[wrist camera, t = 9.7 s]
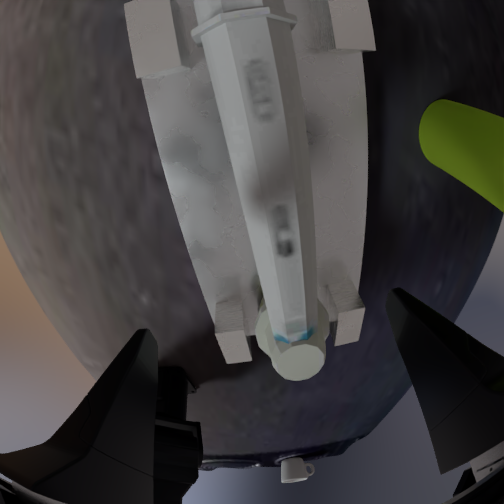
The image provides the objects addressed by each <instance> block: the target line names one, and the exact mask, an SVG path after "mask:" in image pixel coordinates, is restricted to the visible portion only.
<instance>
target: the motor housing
mask: <svg viewBox="0 0 504 504" xmlns="http://www.w3.org/2000/svg"><path fill="white" fill-rule="evenodd" d="M283 1H284V5H285V8H286V12H287V13H290V14H293V15H296V17H297V21H298V22H297V24H296V25H295V27H294V28H293V30H292V31H291V34H292V39H293V44H294V50H295V55H296V61H297V67H298V73H299V80H300V86H301V93H302V100H303V107H304V115H305V123H306V131H307V140H308V149H309V159H310V169H311V180H312V192H313V206H314V221H315V239H316V262H317V298H318V299H319V301H320V302H321V303H322V305H323V306H324V307H325V309H326V310H327V312H328V315H329V330H330V333H331V336H332V339H333V342H334V345H335V346H338V345H342V344H347V343H351V342H355V341H358V339H359V335H360V330H361V326H362V321H363V316H364V311H365V306H364V304H363V302H362V300H361V298H360V296H359V294H358V289H359V282H360V274H361V266H362V257H363V247H364V236H365V223H366V207H367V184H368V128H367V105H366V90H365V78H364V68H363V59H362V52H370V51H376V48H375V40H374V33H373V27H372V21H371V15H370V10H369V5H368V0H283ZM124 9H125V16H126V22H127V29H128V35H129V41H130V46H131V52H132V57H133V62H134V67H135V72H136V77H137V78H141V79H142V83H143V88H144V93H145V97H146V102H147V106H148V110H149V115H150V119H151V123H152V127H153V131H154V135H155V139H156V143H157V147H158V151H159V154H160V158H161V162H162V166H163V169H164V173H165V176H166V180H167V183H168V187H169V190H170V194H171V197H172V201H173V204H174V207H175V211H176V214H177V217H178V220H179V224H180V227H181V230H182V233H183V236H184V239H185V243H186V246H187V249H188V252H189V255H190V258H191V261H192V264H193V267H194V270H195V272H196V275H197V278H198V281H199V284H200V287H201V290H202V292H203V295H204V298H205V301H206V303H207V306H208V309H209V312H210V314H211V317H212V320H213V322H214V325H215V336H216V338H217V341H218V343H219V345H220V348H221V350H222V353H223V355H224V358H225V360H226V362H227V364H231V363H239V362H247V361H252V352H251V341H250V335H256V334H255V328H254V324H255V321H256V318H257V316H258V307H259V306H260V303H261V301H262V298H263V291H262V287H261V283H260V278H259V274H258V270H257V266H256V262H255V258H254V254H253V250H252V245H251V241H250V237H249V233H248V229H247V225H246V221H245V217H244V213H243V208H242V204H241V200H240V196H239V192H238V188H237V184H236V180H235V176H234V171H233V167H232V163H231V159H230V155H229V151H228V147H227V143H226V139H225V135H224V130H223V126H222V122H221V118H220V114H219V110H218V106H217V102H216V98H215V94H214V89H213V85H212V81H211V77H210V73H209V69H208V65H207V61H206V57H205V53H204V49H203V47H198V46H197V45H196V43H195V41H194V40H193V38H192V35H191V30H193V29H194V28H196V27H198V22H197V17H196V12H195V7H194V2H193V0H133V1H131V2H128V3H125V4H124Z"/></svg>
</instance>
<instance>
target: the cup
mask: <svg viewBox="0 0 504 504" xmlns="http://www.w3.org/2000/svg"><path fill="white" fill-rule="evenodd" d="M306 466H310V467H311V473H308V472H307V470H306ZM281 470H282V471H281V478H282V479H281V481H282V483H289V482H297V481H302V480H306V479H308V476H310V475H312V474H313V473H314V466H313V465H312V464H311V463H304V462H303V459H302V458H300V457H293V458H288V459H285V460H283V461H282V463H281Z"/></svg>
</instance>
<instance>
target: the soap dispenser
mask: <svg viewBox="0 0 504 504" xmlns="http://www.w3.org/2000/svg"><path fill="white" fill-rule="evenodd" d="M419 141H420V146H421V149H422V151H423V153H424V155H425V157H426V158H427V159H428V160H429V161H430V162H431V163H432V164H434V165H436V166H437V167H439V168H441V169H442V170H444V171H445V172H447V173H449V174H450V175H452V176H453V177H455V178H456V179H458V180H460V181H461V182H463V183H464V184H465V185H467V186H468V187H470V188H471V189H473V190H474V191H476V192H477V193H478V194H480V195H481V196H483V197H484V198H485V199H487V200H488V201H489V202H491V203H492V204H493V205H494V206H496V207H497V208H498V209H500V210H501V211H502V212H503V213H504V118H502V117H500V116H497V115H495V114H492V113H489V112H486V111H483V110H480V109H477V108H474V107H471V106H468V105H464V104H461V103H457V102H454V101H450V100H445V99H441V100H437V101H435V102H433V103H431V104H430V105H429V106H428V107H427V109H426V110H425V112H424V113H423V115H422V118H421V121H420V126H419Z"/></svg>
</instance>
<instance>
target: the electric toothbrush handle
mask: <svg viewBox="0 0 504 504" xmlns="http://www.w3.org/2000/svg"><path fill="white" fill-rule="evenodd" d="M193 2H194V7H195V12H196V17H197V22H198V27H196V28H194V29H193V30H191V35H192V38H193V40H194V41H195V43H196V45H197V46H198V47H203V49H204V53H205V57H206V61H207V65H208V69H209V73H210V77H211V81H212V85H213V89H214V94H215V98H216V102H217V106H218V110H219V114H220V118H221V122H222V126H223V130H224V135H225V139H226V143H227V147H228V151H229V155H230V159H231V163H232V167H233V171H234V176H235V180H236V184H237V188H238V192H239V196H240V200H241V204H242V208H243V213H244V217H245V221H246V225H247V229H248V233H249V237H250V241H251V245H252V250H253V254H254V258H255V262H256V266H257V270H258V274H259V278H260V283H261V287H262V291H263V298H262V301H261V303H260V306H259V307H258V316H257V318H256V321H255V324H254V328H255V334H256V338H257V342H258V346H259V348H261V349H262V350H263V351H264V352H265V353H266V354H267V355H268V356H270V357H271V360H272V364H273V367H274V368H275V370H276V371H277V372H278V373H279V374H280V375H281V376H283V377H284V378H285V379H288V380H294V381H299V380H304V379H308V378H310V377H312V376H313V375H315V374H317V373H318V372H319V370H320V369H321V367H322V366H323V364H324V361H325V357H326V345H325V340H326V338H327V337H328V335H329V315H328V312H327V310H326V309H325V307H324V306H323V305H322V303H321V302H320V301H319V299H318V298H317V262H316V239H315V221H314V206H313V192H312V180H311V169H310V159H309V149H308V140H307V131H306V123H305V115H304V107H303V100H302V93H301V86H300V80H299V73H298V67H297V61H296V55H295V50H294V44H293V39H292V34H291V31H292V30H293V28H294V27H295V25H296V24H297V22H298V21H297V17H296V15H293V14H290V13H287V12H286V8H285V5H284V1H283V0H193Z"/></svg>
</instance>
